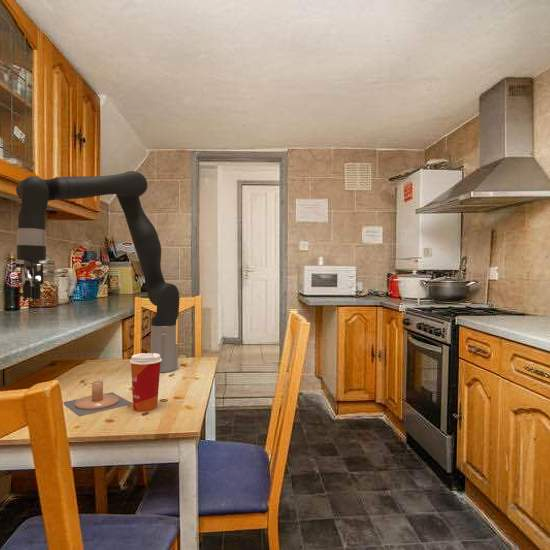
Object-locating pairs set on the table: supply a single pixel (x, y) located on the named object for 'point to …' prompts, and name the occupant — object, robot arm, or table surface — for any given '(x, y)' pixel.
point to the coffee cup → (145, 381)
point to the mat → (85, 412)
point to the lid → (97, 399)
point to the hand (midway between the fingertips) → (31, 298)
